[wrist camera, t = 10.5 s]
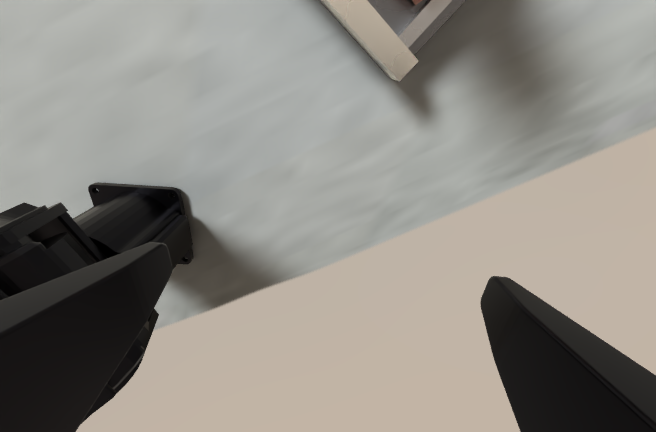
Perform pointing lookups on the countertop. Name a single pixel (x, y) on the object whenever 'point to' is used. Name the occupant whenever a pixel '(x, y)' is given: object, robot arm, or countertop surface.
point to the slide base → (392, 28)
